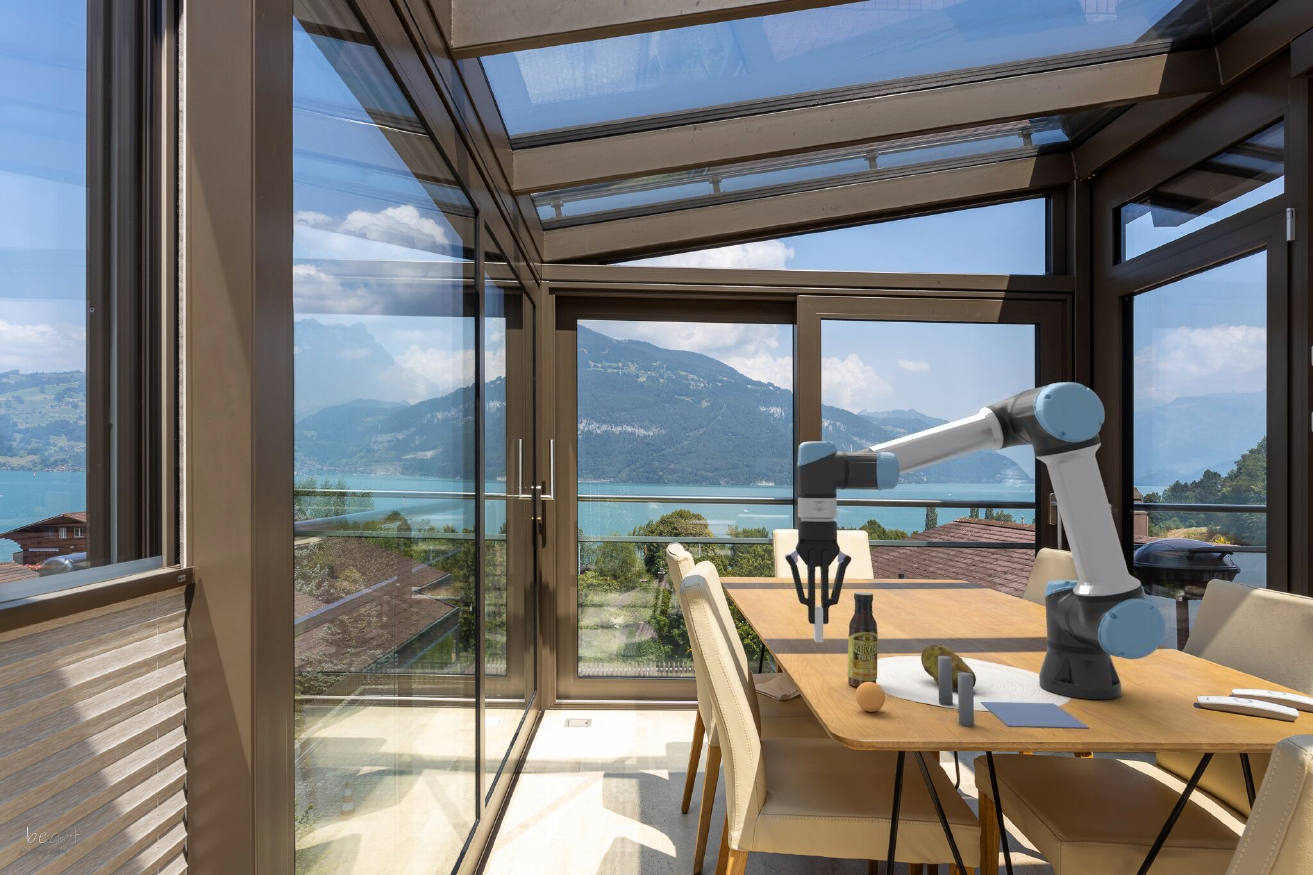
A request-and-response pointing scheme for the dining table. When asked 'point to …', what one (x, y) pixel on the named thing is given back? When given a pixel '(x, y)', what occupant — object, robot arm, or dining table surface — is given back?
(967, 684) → the post
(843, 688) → the dining table surface
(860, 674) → the sauce bottle
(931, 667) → the potato
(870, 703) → the ball
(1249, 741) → the dining table surface
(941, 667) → the post
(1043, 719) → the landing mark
